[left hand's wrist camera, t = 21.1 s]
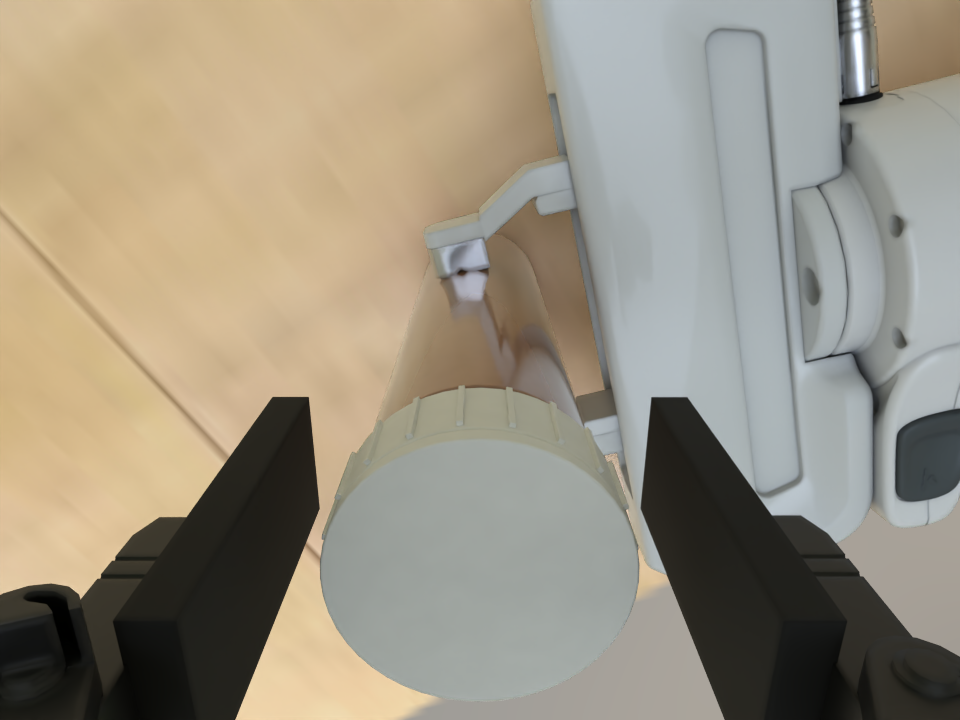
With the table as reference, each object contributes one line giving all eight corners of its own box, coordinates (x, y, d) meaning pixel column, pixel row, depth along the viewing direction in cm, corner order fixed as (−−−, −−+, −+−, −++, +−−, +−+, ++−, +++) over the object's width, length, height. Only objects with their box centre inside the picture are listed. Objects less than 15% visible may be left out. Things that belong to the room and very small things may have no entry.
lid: (677, 491, 12) (712, 559, 10) (500, 662, 14) (504, 749, 12) (453, 324, 11) (448, 368, 9) (286, 531, 13) (253, 604, 11)
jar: (446, 213, 27) (392, 387, 10) (553, 255, 27) (666, 484, 11) (408, 317, 28) (307, 615, 12) (510, 355, 29) (551, 690, 12)
